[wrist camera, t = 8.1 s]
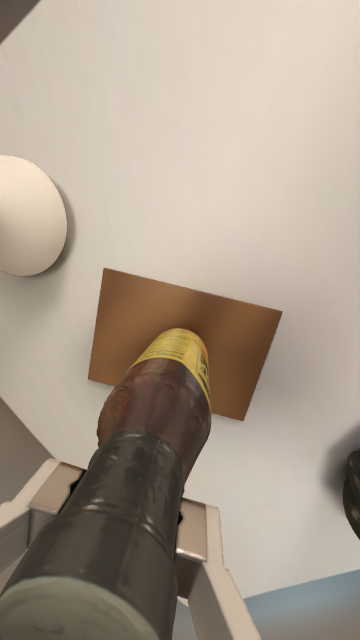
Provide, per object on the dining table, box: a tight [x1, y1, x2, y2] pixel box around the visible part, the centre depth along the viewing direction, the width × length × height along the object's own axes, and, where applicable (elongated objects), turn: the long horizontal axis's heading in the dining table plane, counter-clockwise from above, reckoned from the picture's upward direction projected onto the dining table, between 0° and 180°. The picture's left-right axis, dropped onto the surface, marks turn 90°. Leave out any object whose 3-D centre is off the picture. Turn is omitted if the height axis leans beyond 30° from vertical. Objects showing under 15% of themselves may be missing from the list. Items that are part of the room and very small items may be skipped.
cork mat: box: [88, 268, 282, 421], centre depth 24 cm, size 20×14×1 cm
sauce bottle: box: [0, 328, 211, 640], centre depth 14 cm, size 6×6×20 cm
